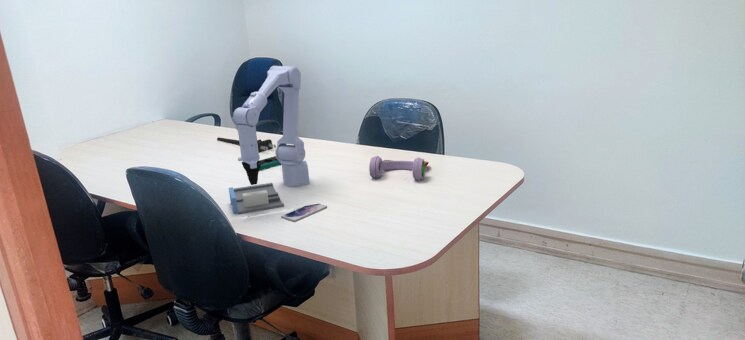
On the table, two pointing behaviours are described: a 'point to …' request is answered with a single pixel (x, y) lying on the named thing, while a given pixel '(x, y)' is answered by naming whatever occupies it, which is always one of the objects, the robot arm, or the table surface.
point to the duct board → (237, 193)
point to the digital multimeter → (269, 163)
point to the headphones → (397, 166)
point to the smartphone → (303, 212)
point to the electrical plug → (262, 145)
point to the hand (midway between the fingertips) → (253, 183)
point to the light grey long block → (258, 198)
